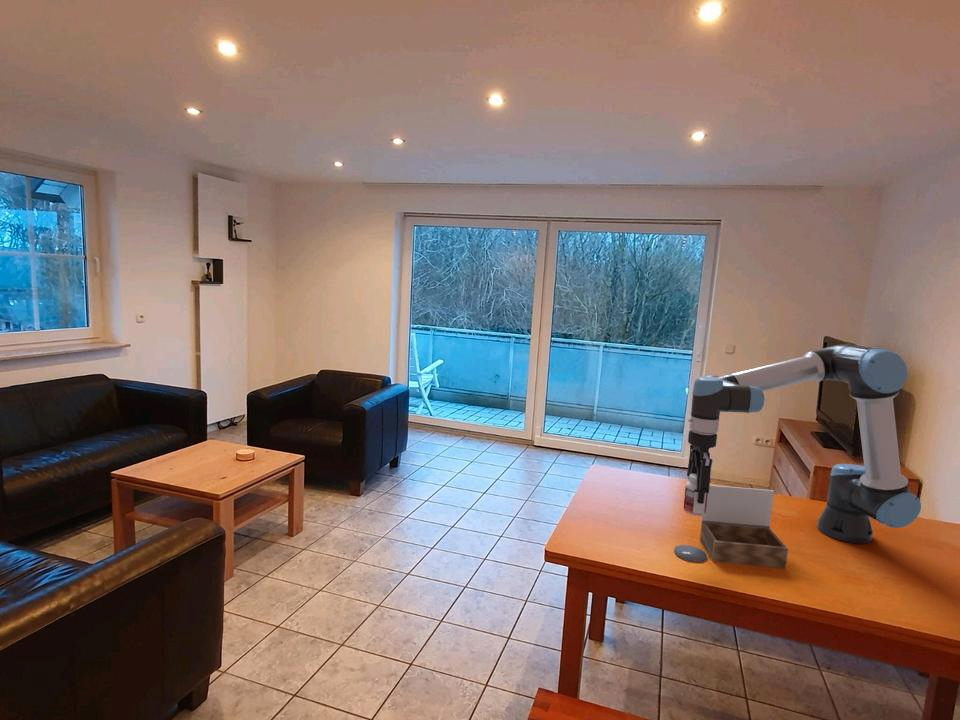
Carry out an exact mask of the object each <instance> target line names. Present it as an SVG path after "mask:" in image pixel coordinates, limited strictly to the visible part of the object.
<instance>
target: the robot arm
mask: <svg viewBox="0 0 960 720" xmlns="http://www.w3.org/2000/svg"><path fill="white" fill-rule="evenodd" d="M908 373H909V371H908V366H907V364H906V362H905V360H904V359H903V358H902V356H900V355H899V354H897V353H895V352H893V351H891V350H887V349H885V348H881V347H880V348H879V347H872V346H871V347H869V346H863V345H857V344H852V343H851V344H850V343H845V344H836V345H832V346H827V347H824V348H818V349H815V350H811V351H807V352H806V353H805V354H803V355H802V356H800V357H796V358H791V359H789V360H784V361H779V362H777V363H771V364H767V365H764V366H758V367H755V368H752V369H747V370H743V371H738V372H735V373H730V374H726V375H721V376H718V375H706V376H700V377H697V378H695V380H694V383H693V388H692V389H693V390H692V399H691V408H690V409H691V410H690V418H689V419H688V420H687V421H688V423H689V430H688V437H687V443H688V444H689V455H688V456H689V458H688V463H687V464H688V466H687V472H686V476H687V477H688V481H690V480H689V475H690V474H697V489H696V490H694V492H695V497H694V506H693V513H699V514H703V513H704V504H705V495H706V493H709V486H710V485H711V472H712V464H713V458H711V456H710V455H711V453H710V451H709V449H711V448H715V447H716V446H717V440H718V434H717V433H718V432H719V426H720V425H719V423H720V414H721V413H746V414H749V413H759V412H760V411H761V410H762V409H763V407H764V405H765V394H764V392H767V391H771V390H775V389H778V388H783V387H787V386H791V385H792V386H793V385H795V384H796V385H797V384H799V383H804V382H808V381H809V382H810V381H812V382H817V383H818V382H823V381H835V382H837V381H838V382H842V383H845V384H847V385H848V393H849V396H850V397H851V398H853V399H854V400H856V406H857V407H856V409H857V415H858V423H859V433H860V441H861V449H862V456H863V457H862V458H863V465H861V464H854V463H852V464H851V463H836V464H834V465H833V466H832V468H831V472H830V474H829V483H828V491H827V500H826V505H825V507H824V509H823V510H822V513H821V514H820V516H819V518H818V519H817V523H816V527H817V529H818V530H819V531H820V532H821V533H823V534H824V535H826V536H828V537H831V538H832V539H836V540H839V541H843V542H847V543H851V544H852V543H853V544H861V545H863V544H868V543H871V542H872V541H873V535H874V532H873V528H872V524H871V523H872V522H871V520H870V518H871V519H872V520H873V519H874V521H877V522H878V523H879V524H882V525H885V526H888V527H889V528H894V529H899V528H900V529H901V528H904V527H907V526H909V525H911V524H912V523H913V522H914V521H915V520H916V519H917V518H918V517H919V515H920V513H921V509H922V503H921V500H920V498H919V497H918V495H916V494H914V493H913V492H911V491H910V486H909V479H908V478H907V477H906V476H905V475H903V474H902V472H901V463H900V453H899V444H898V434H897V425H896V416H895V406H894V399H895V398H896V397H897V396H898V395H899V394H900V389H902V387H904V385H905V383H904V382H906V381H907V380H908V379H907V378H908Z"/></svg>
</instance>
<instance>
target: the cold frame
mask: <svg viewBox="0 0 960 720" xmlns="http://www.w3.org/2000/svg"><path fill="white" fill-rule="evenodd" d="M699 542H700V543H701V544H702V546H703V547H704V549H705V551H706V554H708V556H709V558H710V560H711V561H712V562H716V563H727V564H734V565H736V564H737V565H748V566H758V567H769V568H778V569H779V568H780V569H787V568H786V567H787V559H788V553H789V552H788V551H789V548H788V547H787V546H786V545H785V543H784V542H783V541H781V539H780V538H779V537H778V536H777V535H776V533H774V532H773V530H772V529H771V528H770V529H769V528H757V527H746V526H735V525H723V524H712V523H702V522H701V526H700V536H699Z"/></svg>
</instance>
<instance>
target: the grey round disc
mask: <svg viewBox="0 0 960 720" xmlns="http://www.w3.org/2000/svg"><path fill="white" fill-rule="evenodd" d="M673 553H674V554H675V556H677V557H678V558H679V557H680V559H682V560H683V561H686V560H687V562H690V563H702V562H703V563H704V562H705V561H707V552H705V551H704V550H703V549H701V548H699V547H696V546H693V545H688V544H679V545H676V546H675V547H674V549H673Z"/></svg>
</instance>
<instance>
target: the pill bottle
mask: <svg viewBox="0 0 960 720" xmlns="http://www.w3.org/2000/svg"><path fill="white" fill-rule="evenodd" d="M689 480H690V481H689ZM696 489H697V474H690V475H689V479H688V481H687V482H686V483H685V489H684V499H683V500H684V501H683V511H684V512H685V513H686V514H687V515H690V516H693V517H694V516H695V517H702V516H703V515H705V514H706V507H707V497H708V493H706V495H705V504H704V513H703V514H699V513H693V506H694V497H695V492H694V490H696Z"/></svg>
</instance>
